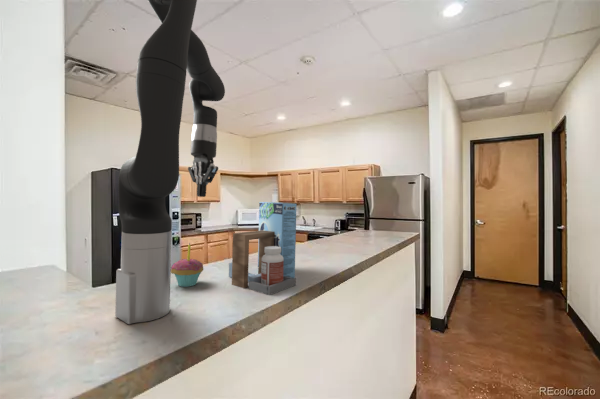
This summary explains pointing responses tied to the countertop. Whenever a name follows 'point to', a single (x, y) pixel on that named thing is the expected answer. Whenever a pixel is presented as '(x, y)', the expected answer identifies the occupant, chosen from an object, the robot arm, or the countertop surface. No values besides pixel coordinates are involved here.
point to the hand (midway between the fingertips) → (201, 196)
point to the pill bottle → (272, 266)
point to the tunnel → (247, 254)
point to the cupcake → (187, 270)
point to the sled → (250, 276)
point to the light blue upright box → (281, 230)
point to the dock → (273, 286)
